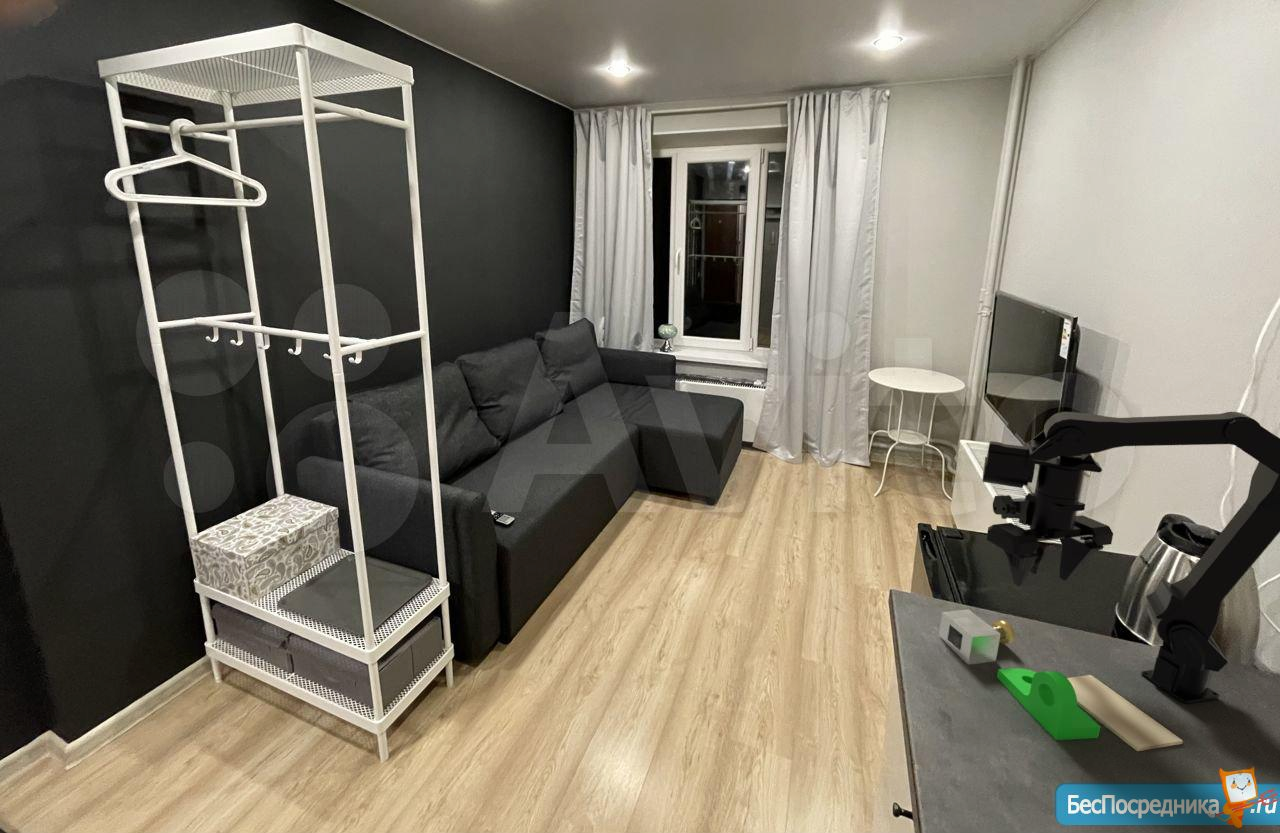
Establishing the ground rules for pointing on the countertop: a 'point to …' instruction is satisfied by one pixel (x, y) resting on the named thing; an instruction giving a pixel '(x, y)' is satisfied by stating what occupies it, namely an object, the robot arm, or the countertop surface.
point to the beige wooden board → (1121, 715)
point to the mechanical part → (1050, 702)
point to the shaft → (1004, 631)
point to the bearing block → (969, 636)
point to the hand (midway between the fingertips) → (1040, 582)
